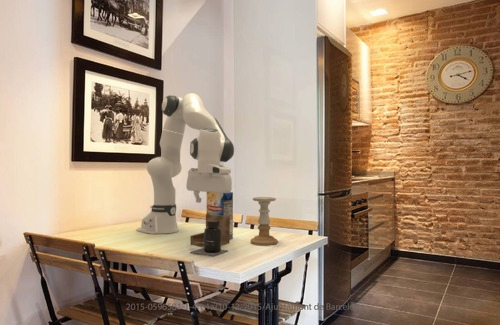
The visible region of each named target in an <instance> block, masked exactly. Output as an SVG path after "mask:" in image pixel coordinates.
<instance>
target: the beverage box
mask: <svg viewBox="0 0 500 325" xmlns="http://www.w3.org/2000/svg"><path fill="white" fill-rule="evenodd" d="M217 198H218V196H217V193H215V192H206V211H205V212H206V214H210V215H222V216H230V240H232V239H233V238H234V237H233V236H234V235H233V232H234V227H233V226H234V222H233V221H234V192H233V191H231V192H230V193H223V197H222V198H221V200H220V204H215V200H217ZM206 214H205V215H206Z"/></svg>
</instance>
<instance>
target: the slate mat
mask: <svg viewBox="0 0 500 325" xmlns="http://www.w3.org/2000/svg"><path fill="white" fill-rule="evenodd" d="M225 253H228V249H223V248H221V251H220V252H217V253H208V252H205V251H204V247H201V248H198V249H195V250H192V251H190V254H193V255H199V256H207V257H217V256H220V255H222V254H225Z"/></svg>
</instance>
